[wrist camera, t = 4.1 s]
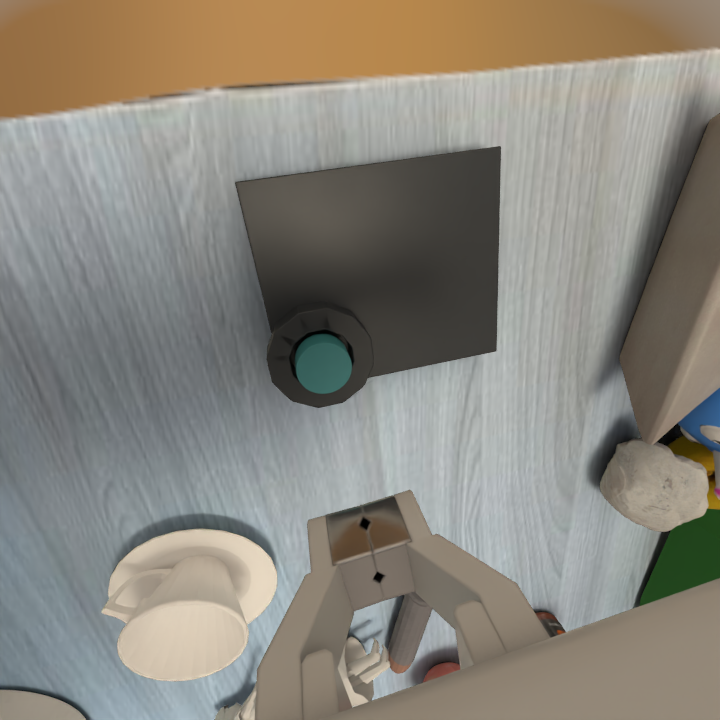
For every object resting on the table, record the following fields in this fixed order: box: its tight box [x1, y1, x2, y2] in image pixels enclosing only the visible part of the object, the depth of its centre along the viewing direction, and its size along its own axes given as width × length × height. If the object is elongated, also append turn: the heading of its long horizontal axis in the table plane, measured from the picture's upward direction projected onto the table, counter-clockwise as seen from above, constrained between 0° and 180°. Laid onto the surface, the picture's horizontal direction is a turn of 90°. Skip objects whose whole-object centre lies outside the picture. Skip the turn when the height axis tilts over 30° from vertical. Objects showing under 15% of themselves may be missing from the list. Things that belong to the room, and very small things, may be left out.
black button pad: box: [235, 146, 501, 408], centre depth 22 cm, size 14×12×4 cm
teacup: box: [101, 529, 277, 681], centre depth 27 cm, size 12×12×5 cm
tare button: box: [295, 334, 352, 394], centre depth 21 cm, size 3×3×2 cm
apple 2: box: [667, 435, 720, 509], centre depth 32 cm, size 6×6×8 cm
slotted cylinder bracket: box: [640, 508, 720, 606], centre depth 38 cm, size 18×9×6 cm
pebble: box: [600, 437, 709, 532], centre depth 31 cm, size 9×8×5 cm
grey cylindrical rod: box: [388, 591, 433, 674], centre depth 36 cm, size 11×3×3 cm, turn 170°
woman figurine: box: [214, 636, 390, 720], centre depth 35 cm, size 12×4×18 cm
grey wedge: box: [619, 113, 720, 445], centre depth 25 cm, size 15×6×20 cm
